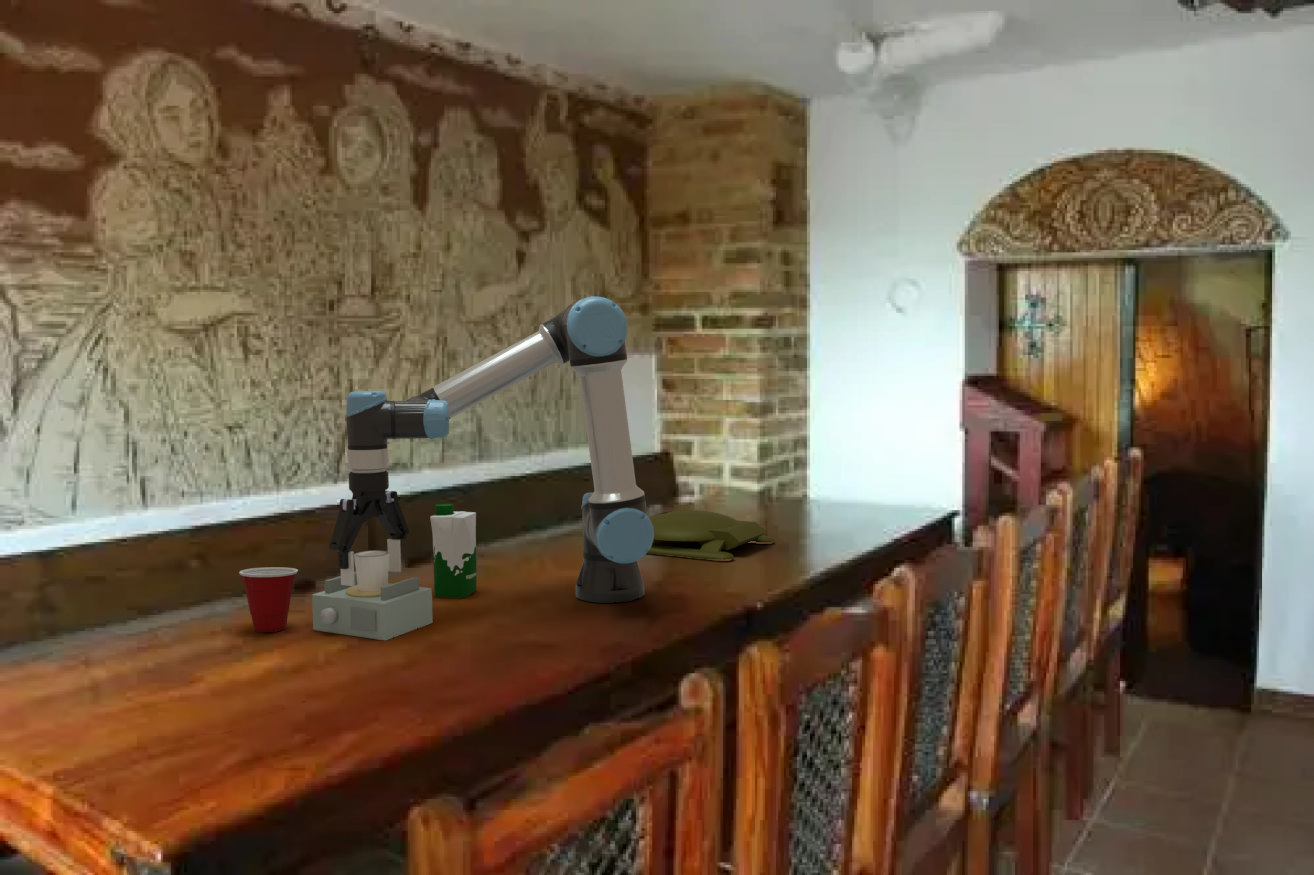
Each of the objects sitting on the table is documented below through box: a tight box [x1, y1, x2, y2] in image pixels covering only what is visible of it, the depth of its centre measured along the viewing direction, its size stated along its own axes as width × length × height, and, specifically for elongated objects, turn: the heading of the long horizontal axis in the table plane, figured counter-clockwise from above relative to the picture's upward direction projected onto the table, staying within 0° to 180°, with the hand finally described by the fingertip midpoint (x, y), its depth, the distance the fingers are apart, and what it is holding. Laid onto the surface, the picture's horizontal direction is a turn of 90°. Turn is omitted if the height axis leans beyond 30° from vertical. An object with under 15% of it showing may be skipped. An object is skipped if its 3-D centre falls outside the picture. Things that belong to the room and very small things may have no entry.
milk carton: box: [429, 502, 478, 599], centre depth 236 cm, size 9×9×20 cm
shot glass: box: [354, 550, 390, 592], centre depth 209 cm, size 7×7×7 cm
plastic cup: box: [238, 566, 299, 633], centre depth 208 cm, size 11×11×12 cm
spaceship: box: [647, 509, 775, 560], centre depth 288 cm, size 35×31×10 cm
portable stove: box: [311, 571, 433, 641], centre depth 209 cm, size 18×16×10 cm
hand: (371, 578), depth 209 cm, fingers open, 13 cm apart
